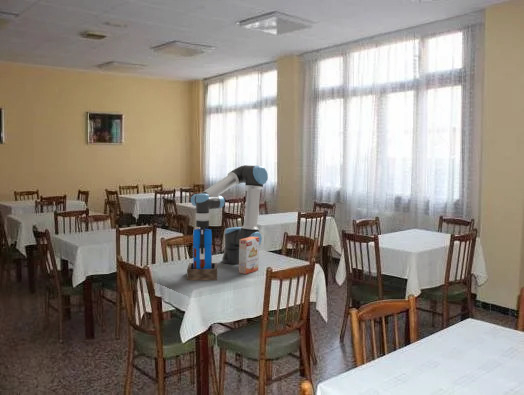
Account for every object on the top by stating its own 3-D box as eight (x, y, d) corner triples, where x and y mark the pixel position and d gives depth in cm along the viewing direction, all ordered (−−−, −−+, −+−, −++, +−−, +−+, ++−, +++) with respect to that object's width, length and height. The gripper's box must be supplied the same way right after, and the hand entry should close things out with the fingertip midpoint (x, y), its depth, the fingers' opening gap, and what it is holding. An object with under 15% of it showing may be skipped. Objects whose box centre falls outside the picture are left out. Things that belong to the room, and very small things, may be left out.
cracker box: (246, 274, 308) (246, 240, 306) (238, 273, 312) (238, 239, 310) (259, 270, 320) (259, 237, 318) (251, 268, 323) (251, 236, 321)
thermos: (211, 274, 299) (211, 231, 296) (193, 274, 298) (192, 231, 295) (211, 269, 309) (211, 228, 307) (194, 269, 309) (193, 228, 306)
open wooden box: (217, 272, 313) (217, 262, 312) (216, 279, 296) (216, 269, 296) (189, 272, 312) (189, 263, 311) (187, 279, 295) (187, 269, 294)
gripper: (197, 217, 312) (197, 252, 314) (195, 223, 289) (195, 261, 291) (209, 217, 313) (209, 252, 315) (208, 223, 289) (208, 261, 291)
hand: (202, 256), depth 303 cm, fingers closed on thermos, 11 cm apart
